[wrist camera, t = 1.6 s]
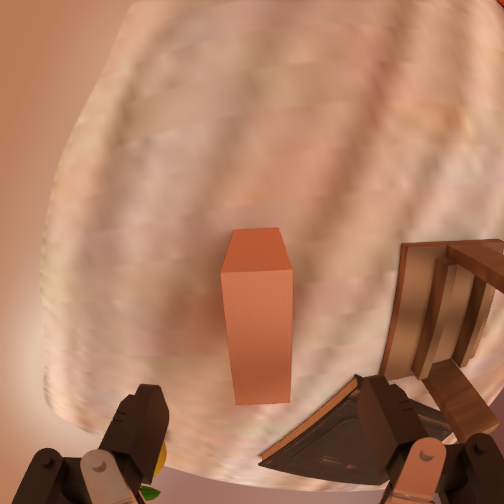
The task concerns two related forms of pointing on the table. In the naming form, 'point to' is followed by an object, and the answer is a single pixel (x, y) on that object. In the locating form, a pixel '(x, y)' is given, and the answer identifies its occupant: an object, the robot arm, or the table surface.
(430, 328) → the track frame
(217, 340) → the table surface
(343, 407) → the hardcover book
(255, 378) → the door panel
